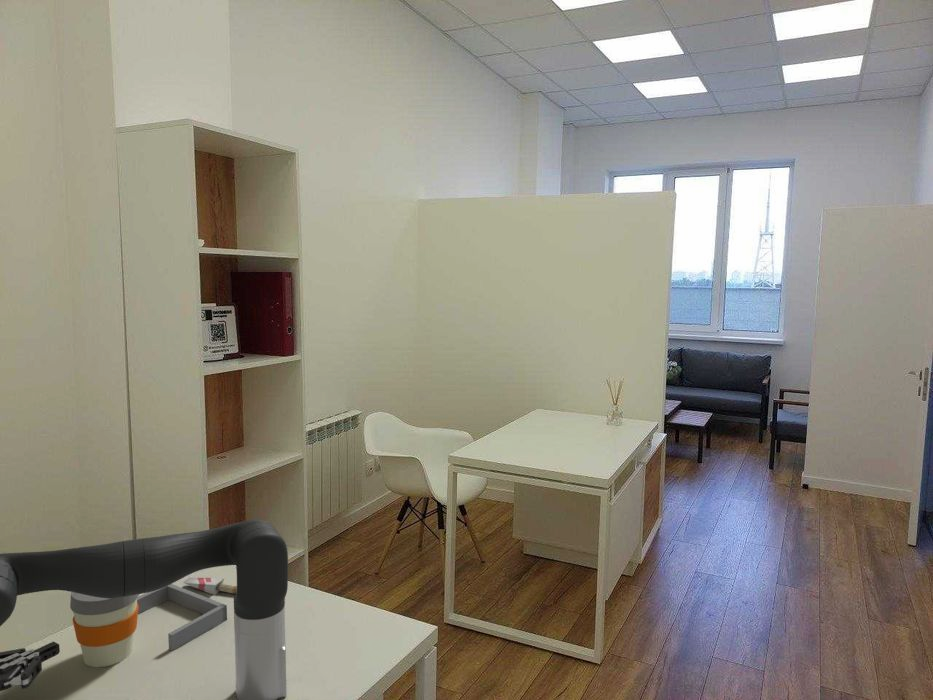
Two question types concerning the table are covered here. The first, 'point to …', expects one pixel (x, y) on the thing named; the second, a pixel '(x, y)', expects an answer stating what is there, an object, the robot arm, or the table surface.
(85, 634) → the reusable coffee cup
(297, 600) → the table surface
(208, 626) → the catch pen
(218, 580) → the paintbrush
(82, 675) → the table surface
